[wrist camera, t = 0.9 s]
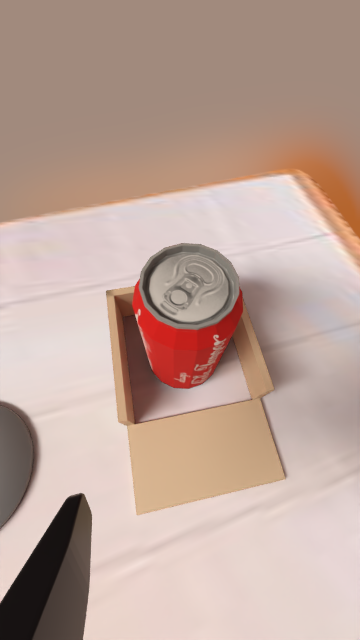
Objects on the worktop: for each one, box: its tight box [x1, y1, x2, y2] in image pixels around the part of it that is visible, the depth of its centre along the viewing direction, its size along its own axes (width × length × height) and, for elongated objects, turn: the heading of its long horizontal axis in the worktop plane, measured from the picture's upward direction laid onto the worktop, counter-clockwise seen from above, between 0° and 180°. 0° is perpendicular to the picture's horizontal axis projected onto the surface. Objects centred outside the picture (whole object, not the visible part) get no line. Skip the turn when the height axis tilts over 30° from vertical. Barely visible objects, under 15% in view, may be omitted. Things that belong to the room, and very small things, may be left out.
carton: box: [106, 286, 285, 515], centre depth 21 cm, size 17×11×4 cm
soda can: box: [132, 243, 243, 389], centre depth 19 cm, size 6×6×12 cm
